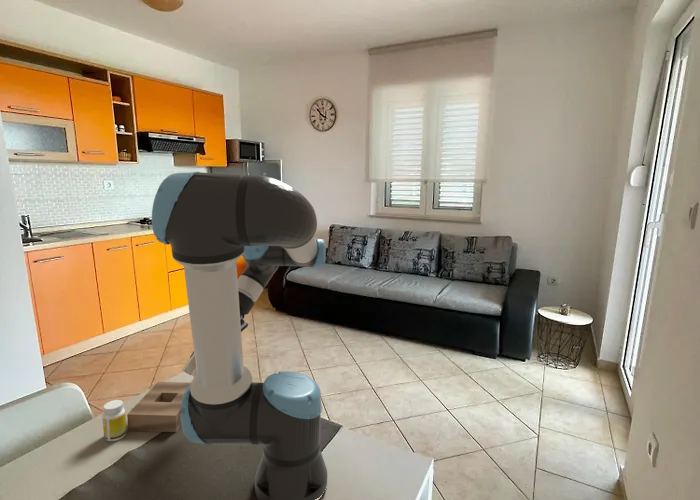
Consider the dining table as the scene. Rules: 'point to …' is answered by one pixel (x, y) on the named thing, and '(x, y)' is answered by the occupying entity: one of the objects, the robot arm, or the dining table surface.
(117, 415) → the supplement bottle
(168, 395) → the walnut block
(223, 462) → the dining table surface
